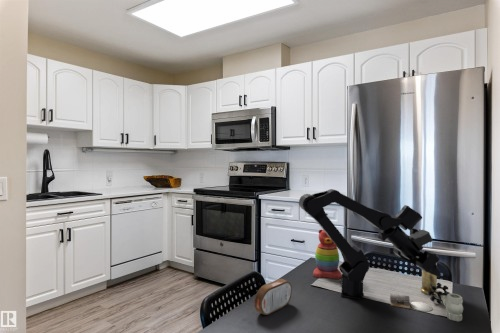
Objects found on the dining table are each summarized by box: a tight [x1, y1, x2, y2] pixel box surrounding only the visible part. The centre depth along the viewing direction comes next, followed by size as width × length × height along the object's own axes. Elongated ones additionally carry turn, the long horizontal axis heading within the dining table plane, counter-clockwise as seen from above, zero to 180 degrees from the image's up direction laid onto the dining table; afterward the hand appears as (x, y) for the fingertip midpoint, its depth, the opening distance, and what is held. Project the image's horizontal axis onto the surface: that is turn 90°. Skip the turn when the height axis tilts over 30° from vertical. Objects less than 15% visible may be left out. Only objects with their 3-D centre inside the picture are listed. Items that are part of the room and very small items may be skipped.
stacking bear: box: [312, 229, 342, 280], centre depth 126 cm, size 11×10×18 cm
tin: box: [253, 278, 293, 316], centre depth 96 cm, size 15×3×8 cm, turn 135°
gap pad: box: [409, 301, 433, 312], centre depth 98 cm, size 6×6×1 cm
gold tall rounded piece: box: [420, 254, 439, 296], centre depth 108 cm, size 5×5×13 cm
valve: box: [428, 282, 464, 322], centre depth 95 cm, size 7×7×12 cm
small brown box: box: [389, 293, 411, 309], centre depth 100 cm, size 5×5×3 cm
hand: (430, 270), depth 109 cm, fingers open, 9 cm apart
